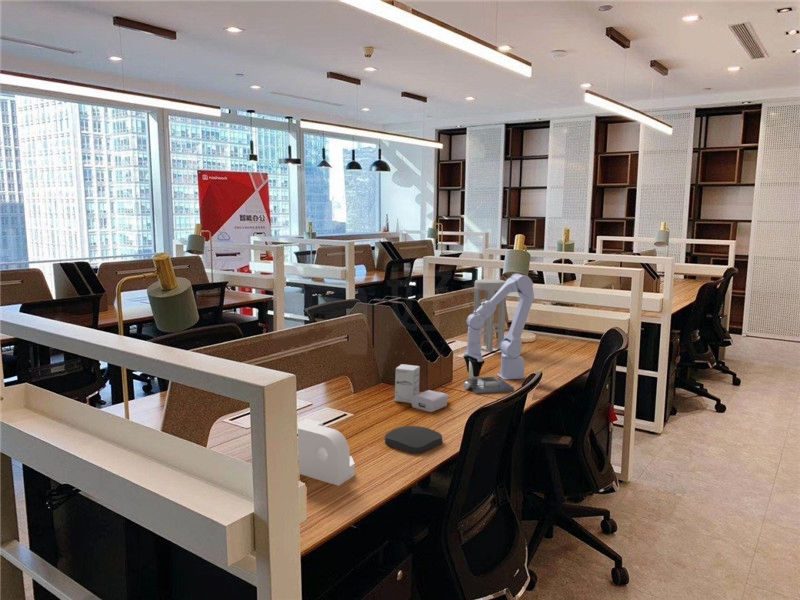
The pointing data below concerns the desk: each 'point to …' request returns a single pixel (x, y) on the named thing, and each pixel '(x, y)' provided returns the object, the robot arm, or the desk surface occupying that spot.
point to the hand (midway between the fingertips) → (473, 374)
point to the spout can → (471, 371)
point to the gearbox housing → (488, 385)
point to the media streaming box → (413, 439)
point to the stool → (490, 288)
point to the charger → (429, 400)
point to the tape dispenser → (324, 453)
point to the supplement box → (406, 382)
